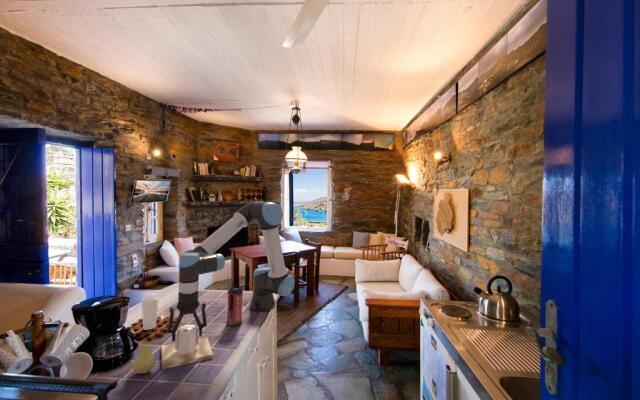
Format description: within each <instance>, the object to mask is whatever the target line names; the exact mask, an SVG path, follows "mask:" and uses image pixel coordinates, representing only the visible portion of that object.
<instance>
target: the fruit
mask: <svg viewBox="0 0 640 400" xmlns="http://www.w3.org/2000/svg"><path fill="white" fill-rule="evenodd" d="M133 342H134V343H135V344H136V343H137V344H138V345H140V352H139V355H138V356H137V357H136V358H135V359H134V362H133V366H132V369H133V371H134V372H135V373H137V374H141V375H144V374H147V373H149V372H151V371H152V370H153V368H154V367H155V365H156V357H155V356H154V355H153V354H152V352H151V351H150V349H149V347H148V346H147V345H146V344H145V343H142V342H139V341H138V340H136V339H134V340H133Z"/></svg>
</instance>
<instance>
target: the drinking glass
mask: <svg viewBox="0 0 640 400" xmlns="http://www.w3.org/2000/svg"><path fill="white" fill-rule="evenodd" d="M158 310H159V297H158V296H157V295H149V296H145V297H143V298H142V299H141V312H142V313H141V315H142V330H143V329H144V330H148V329H152V328H154V327H156V328H157V320H158V319H157V316H158ZM144 330H143V331H144Z"/></svg>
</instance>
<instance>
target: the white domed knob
mask: <svg viewBox="0 0 640 400" xmlns="http://www.w3.org/2000/svg"><path fill="white" fill-rule="evenodd" d="M197 327H198V325H195V324H184V325H181V326H178V328H177V333H178V338H177V353H179V354H181V355H185V354H190V353H192V352H194V351H195V350H196V348H197Z"/></svg>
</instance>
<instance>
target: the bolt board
mask: <svg viewBox="0 0 640 400" xmlns="http://www.w3.org/2000/svg"><path fill="white" fill-rule="evenodd" d="M208 338H209V337H208V336H205V337H201V338H200V337H199V345H197V348H196V350H195V351H194V352H192V353H190V354H185V355H181V354H179V353H177V350H175V342H174V343H168V344H164V345H161V370H162V371H163V370H167V369H170V368H176V367H178V366H179V367H180V366H183V365H188V364H193V363H196V362H201V361H202V362H203V361H205V360H211V359H213V357H214V354H213V351H212V348H211V345H210V342H209V339H208Z"/></svg>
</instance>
